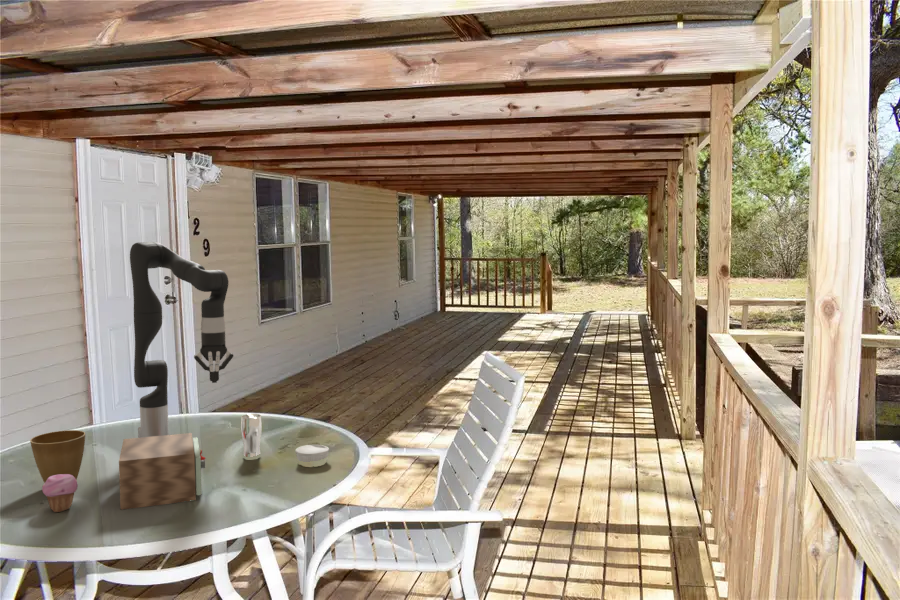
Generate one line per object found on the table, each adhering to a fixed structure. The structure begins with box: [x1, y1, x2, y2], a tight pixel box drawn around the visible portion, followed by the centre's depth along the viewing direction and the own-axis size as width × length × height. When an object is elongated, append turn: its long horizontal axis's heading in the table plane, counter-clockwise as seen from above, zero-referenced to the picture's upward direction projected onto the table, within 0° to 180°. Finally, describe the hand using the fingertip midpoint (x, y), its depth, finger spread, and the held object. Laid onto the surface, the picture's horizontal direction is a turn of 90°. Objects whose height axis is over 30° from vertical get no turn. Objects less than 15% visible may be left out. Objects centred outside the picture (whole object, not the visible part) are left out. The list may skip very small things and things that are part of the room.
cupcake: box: [41, 474, 79, 513], centre depth 200 cm, size 9×9×10 cm
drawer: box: [192, 437, 206, 496], centre depth 216 cm, size 21×23×11 cm
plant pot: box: [29, 429, 86, 484], centre depth 218 cm, size 15×15×16 cm
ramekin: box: [294, 444, 330, 462], centre depth 242 cm, size 11×11×5 cm
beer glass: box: [240, 413, 263, 457], centre depth 248 cm, size 7×7×15 cm
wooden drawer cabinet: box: [118, 432, 197, 511], centre depth 215 cm, size 20×24×14 cm
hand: (214, 382), depth 235 cm, fingers closed
